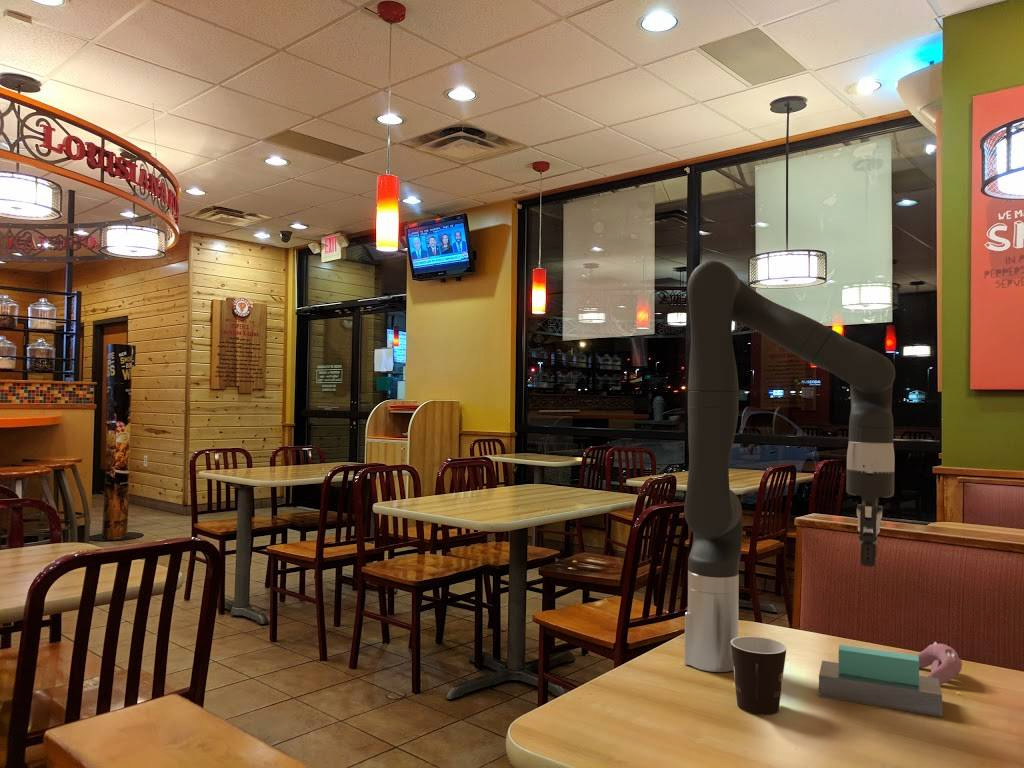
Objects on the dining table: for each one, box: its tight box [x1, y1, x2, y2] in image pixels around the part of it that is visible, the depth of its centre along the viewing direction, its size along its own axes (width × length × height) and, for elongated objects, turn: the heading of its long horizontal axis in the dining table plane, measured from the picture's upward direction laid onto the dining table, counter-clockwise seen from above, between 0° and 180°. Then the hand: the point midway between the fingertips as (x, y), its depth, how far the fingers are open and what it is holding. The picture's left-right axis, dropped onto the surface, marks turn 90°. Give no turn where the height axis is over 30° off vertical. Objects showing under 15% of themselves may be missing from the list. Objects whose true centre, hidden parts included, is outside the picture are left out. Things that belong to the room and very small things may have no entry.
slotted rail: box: [818, 660, 943, 718], centre depth 125 cm, size 18×8×4 cm, turn 64°
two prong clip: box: [838, 644, 920, 686], centre depth 125 cm, size 12×3×7 cm, turn 64°
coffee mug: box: [731, 635, 787, 716], centre depth 120 cm, size 12×9×10 cm
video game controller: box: [915, 641, 963, 685], centre depth 135 cm, size 10×5×7 cm, turn 170°
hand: (868, 561), depth 130 cm, fingers open, 8 cm apart
